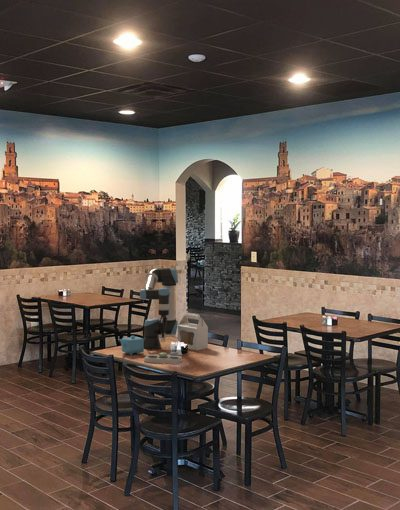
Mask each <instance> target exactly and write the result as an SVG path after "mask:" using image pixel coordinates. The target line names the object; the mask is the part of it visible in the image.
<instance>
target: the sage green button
mask: <svg viewBox="0 0 400 510" xmlns="http://www.w3.org/2000/svg"><path fill="white" fill-rule="evenodd" d="M158 355H159V356H168V353H167V352H159V353H158Z"/></svg>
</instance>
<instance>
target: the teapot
mask: <svg viewBox="0 0 400 510" xmlns="http://www.w3.org/2000/svg"><path fill="white" fill-rule="evenodd" d="M117 340H118V341H119V342H120V345H121V352H123V353H124V354H125V353H126V355H127V353H128V356H133V354H136V355H141V353H144V352H145V351H144V349H145V348H144V337H143V338H142V337H138V336H135V335H131V336H130V337H129V336H127V337H122V338H121V339H120V338H118V339H117Z"/></svg>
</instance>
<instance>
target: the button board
mask: <svg viewBox="0 0 400 510" xmlns="http://www.w3.org/2000/svg"><path fill="white" fill-rule="evenodd" d="M182 358H183V357H182V356H179V355H177V356H171V355H167V356H159V354H155V355H149V354H147V355H146V356H144V358H143V362H144V363H153V364H154V363H155V364H157V363H158V364H174V365H176V364H177V365H179V364H180V363H181V362H182V361H183V360H182Z"/></svg>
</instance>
